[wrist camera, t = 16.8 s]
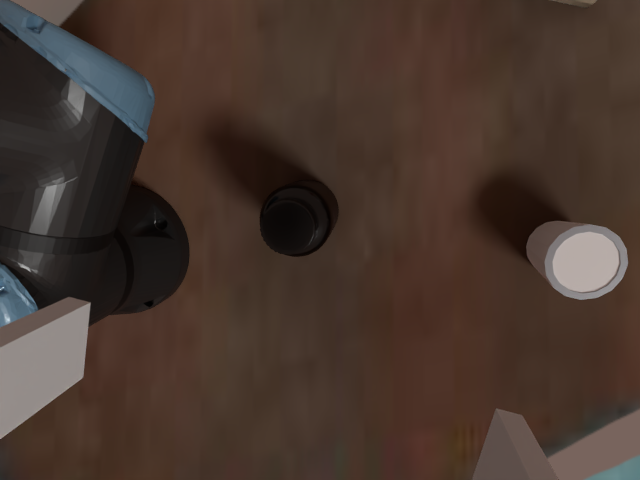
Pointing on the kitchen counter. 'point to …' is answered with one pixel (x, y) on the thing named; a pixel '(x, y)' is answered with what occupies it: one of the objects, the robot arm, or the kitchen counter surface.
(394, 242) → the kitchen counter surface
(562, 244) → the white cylinder
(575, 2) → the tray
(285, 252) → the supplement bottle
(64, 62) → the robot arm
